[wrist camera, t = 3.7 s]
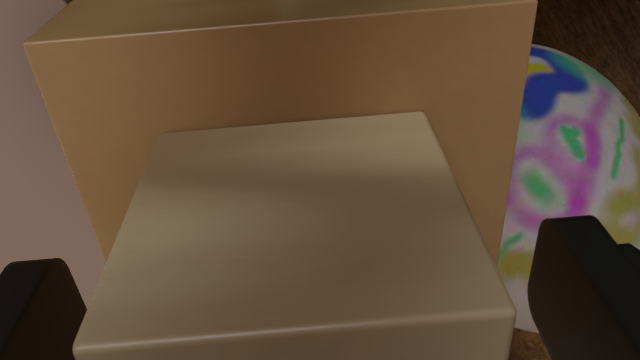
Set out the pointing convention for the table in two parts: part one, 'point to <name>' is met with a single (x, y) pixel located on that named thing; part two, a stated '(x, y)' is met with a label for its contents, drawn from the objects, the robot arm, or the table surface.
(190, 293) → the block
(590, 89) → the decorative egg
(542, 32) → the table surface
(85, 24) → the stand
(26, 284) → the robot arm
